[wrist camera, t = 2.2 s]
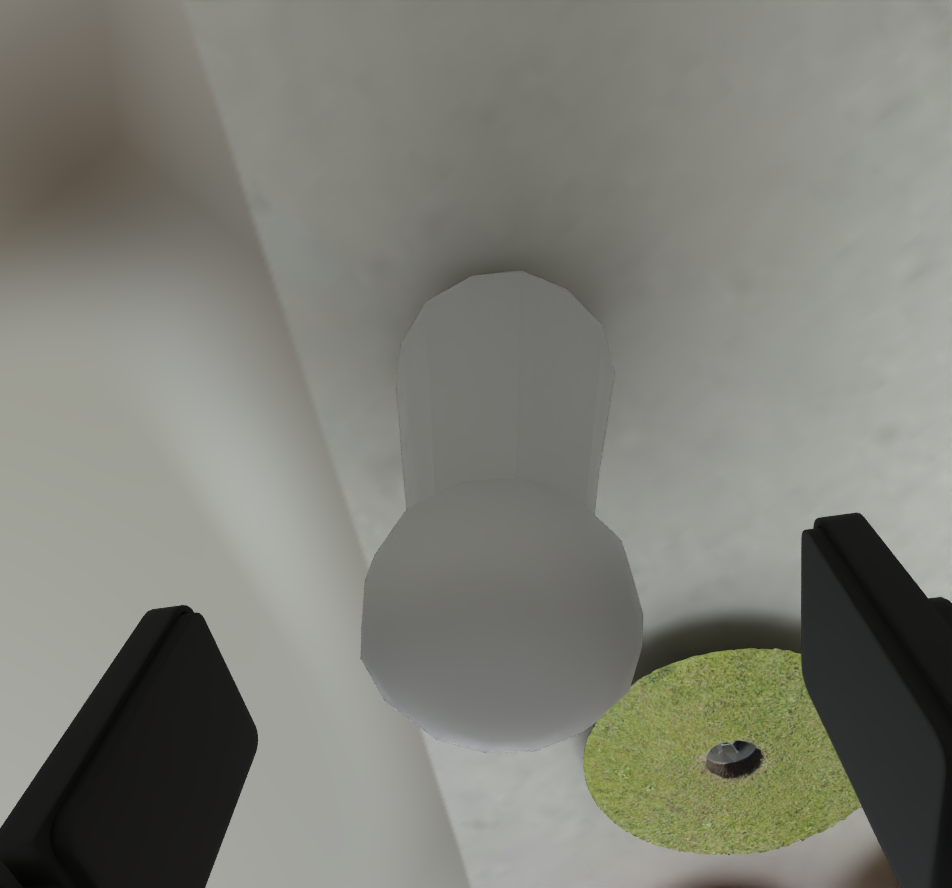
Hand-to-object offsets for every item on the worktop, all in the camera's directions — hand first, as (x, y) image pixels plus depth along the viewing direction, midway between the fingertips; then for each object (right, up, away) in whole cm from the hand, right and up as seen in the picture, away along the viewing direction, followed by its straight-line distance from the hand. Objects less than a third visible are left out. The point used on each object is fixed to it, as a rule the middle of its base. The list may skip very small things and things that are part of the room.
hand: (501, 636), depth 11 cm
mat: (+9, -8, +17) cm, 21 cm away
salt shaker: (+1, +6, +10) cm, 12 cm away
